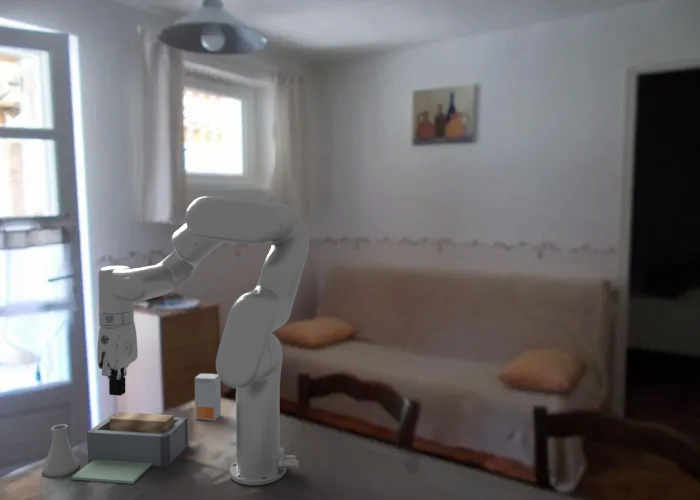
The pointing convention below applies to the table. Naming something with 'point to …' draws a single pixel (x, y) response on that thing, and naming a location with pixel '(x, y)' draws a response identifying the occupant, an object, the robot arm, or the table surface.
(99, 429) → the cradle
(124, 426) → the oak bar
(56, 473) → the flask
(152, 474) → the table surface
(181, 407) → the table surface
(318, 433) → the table surface
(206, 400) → the skincare box
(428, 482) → the table surface
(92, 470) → the mat
